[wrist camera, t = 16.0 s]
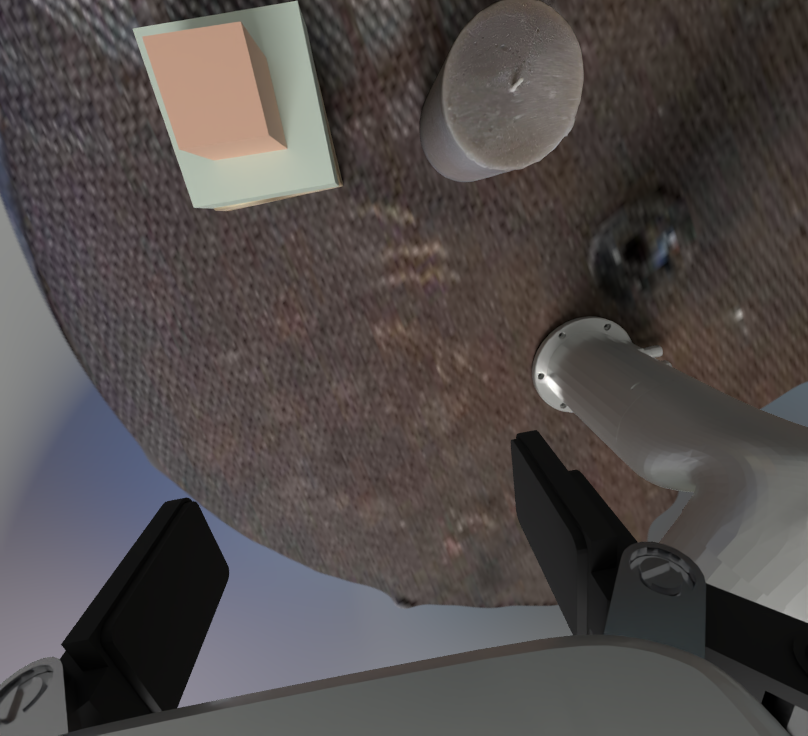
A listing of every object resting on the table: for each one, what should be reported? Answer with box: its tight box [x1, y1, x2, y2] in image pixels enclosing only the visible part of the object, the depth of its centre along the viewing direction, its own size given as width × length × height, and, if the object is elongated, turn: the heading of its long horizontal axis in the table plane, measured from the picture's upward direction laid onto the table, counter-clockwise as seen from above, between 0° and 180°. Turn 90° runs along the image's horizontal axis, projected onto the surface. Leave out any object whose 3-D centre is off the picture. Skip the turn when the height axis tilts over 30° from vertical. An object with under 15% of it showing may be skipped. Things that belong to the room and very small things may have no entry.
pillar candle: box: [420, 0, 584, 182], centre depth 31 cm, size 10×10×15 cm
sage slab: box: [133, 1, 339, 208], centre depth 32 cm, size 12×12×4 cm
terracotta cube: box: [142, 21, 288, 160], centre depth 27 cm, size 6×6×6 cm
